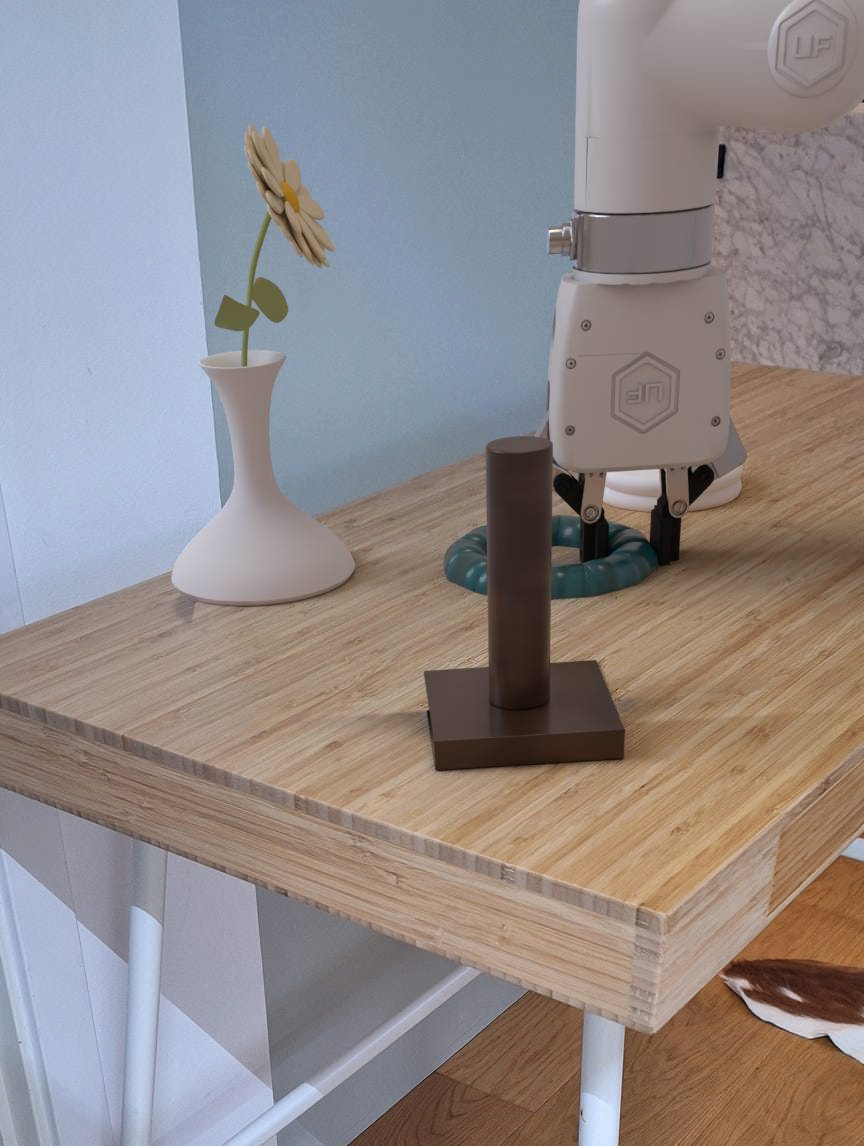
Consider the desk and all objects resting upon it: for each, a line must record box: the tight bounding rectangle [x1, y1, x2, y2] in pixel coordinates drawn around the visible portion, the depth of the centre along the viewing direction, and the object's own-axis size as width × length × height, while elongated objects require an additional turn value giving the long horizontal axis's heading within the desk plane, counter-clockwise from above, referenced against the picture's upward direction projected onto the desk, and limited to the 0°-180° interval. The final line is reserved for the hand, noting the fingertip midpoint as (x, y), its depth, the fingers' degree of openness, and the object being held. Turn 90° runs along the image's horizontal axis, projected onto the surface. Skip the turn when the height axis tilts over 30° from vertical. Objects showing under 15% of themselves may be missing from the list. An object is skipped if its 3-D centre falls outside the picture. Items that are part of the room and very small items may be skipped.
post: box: [423, 435, 626, 771], centre depth 70 cm, size 9×9×14 cm
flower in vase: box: [170, 123, 356, 607], centre depth 85 cm, size 13×11×25 cm
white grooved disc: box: [603, 463, 744, 513], centre depth 101 cm, size 10×10×4 cm
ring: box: [443, 514, 659, 601], centre depth 90 cm, size 13×13×3 cm
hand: (627, 577), depth 90 cm, fingers closed on ring, 3 cm apart
